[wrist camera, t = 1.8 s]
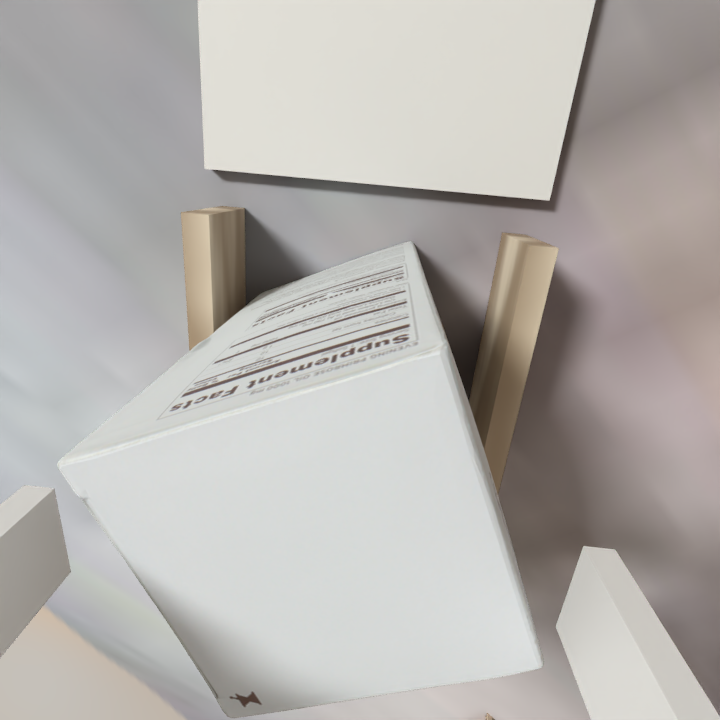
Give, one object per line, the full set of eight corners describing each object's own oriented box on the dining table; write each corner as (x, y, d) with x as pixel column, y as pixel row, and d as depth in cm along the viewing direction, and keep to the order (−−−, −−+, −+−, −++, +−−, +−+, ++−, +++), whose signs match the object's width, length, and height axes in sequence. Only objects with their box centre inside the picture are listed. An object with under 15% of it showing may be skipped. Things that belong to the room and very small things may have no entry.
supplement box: (461, 390, 27) (558, 684, 11) (318, 431, 28) (229, 736, 13) (412, 233, 24) (453, 337, 8) (255, 289, 25) (35, 466, 10)
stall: (525, 234, 23) (558, 248, 19) (474, 471, 29) (490, 526, 24) (222, 206, 24) (180, 212, 19) (229, 444, 29) (198, 493, 25)
